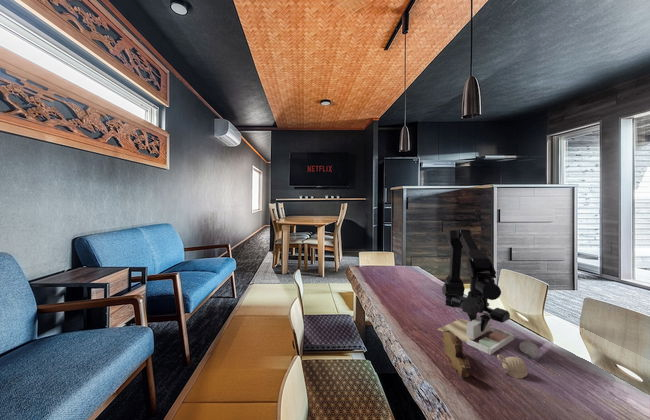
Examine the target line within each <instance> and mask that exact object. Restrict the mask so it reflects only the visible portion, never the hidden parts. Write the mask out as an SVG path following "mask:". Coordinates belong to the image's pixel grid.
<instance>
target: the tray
mask: <svg viewBox="0 0 650 420" xmlns="http://www.w3.org/2000/svg"><path fill="white" fill-rule="evenodd" d="M490 331H491V332H492V333H493V332H498V333H500V334H503V335H506V336H508V337H506V338H505V339H503V340H501V341H500V342H498V343H497V344H495V345H493V346H492V347H490V348H487V347H485V346H483V345H481V344H479V342H475V341H473V340H469V339H467V343H466V345H468V346H471V347H473V348H475V349H476V350H479V351H481V352H483V353H485V354H488V355H489V356H490V355H492V354H494V353H495V352H497V351H498V350H500V349H501V348H503V347H504V346H506V345H508V344H509V343H511V342H512V341H514V340H515V338H516V334H514V333H511V332H508V331H506V330H503V329H501V328H497V327H496V326H494V325H493V326H492V325H491V326H490Z"/></svg>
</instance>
